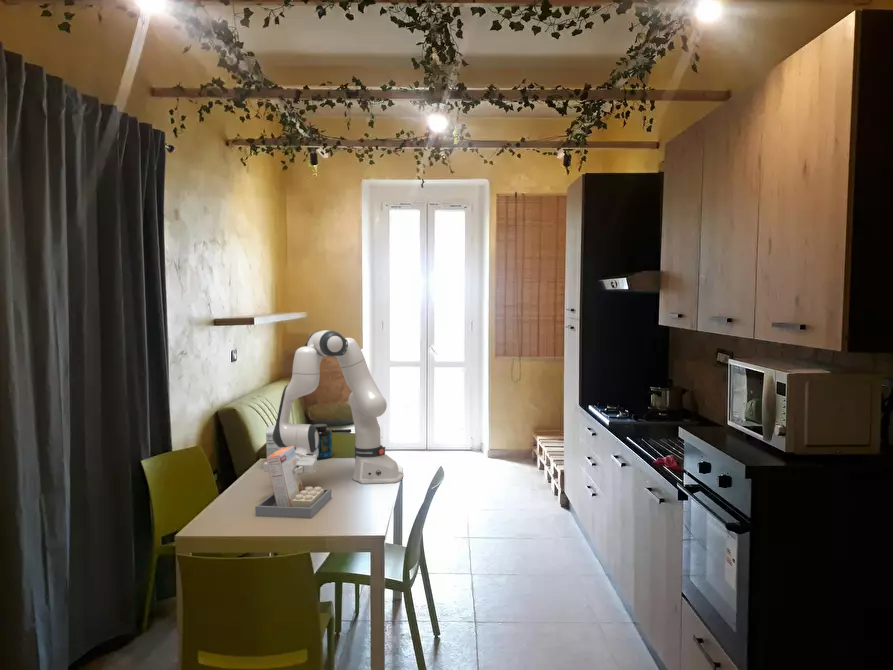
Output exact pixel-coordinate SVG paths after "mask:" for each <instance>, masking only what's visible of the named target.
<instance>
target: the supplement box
mask: <svg viewBox="0 0 893 670" xmlns="http://www.w3.org/2000/svg"><path fill="white" fill-rule="evenodd" d="M275 425H276V424H273V425H272V424H271V425H268V426H267V429H266V432H265V440H266V441H265V444H266V445H265V446H266V458H267V457H268V456H270V455H271V454H273V453H274V452H276V451H278V450H279V449H281V448H280V447H278V446H277V445H276V444H275V443H274V441H273V431H274V428H275ZM282 448H284V447H282ZM294 449H295V450H296V447H294Z"/></svg>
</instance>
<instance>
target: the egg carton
mask: <svg viewBox="0 0 893 670" xmlns="http://www.w3.org/2000/svg"><path fill="white" fill-rule="evenodd" d="M304 488H305V490H302V491H300V494H298V495H296V498H295V499H294V500H293V507H307V508H309V507H310V506H311V505H312V504H314V503H315V502H316V501H317V500H318V499H319V498H320V497H321V496H322V495H323V494H324V489H325V488H322V487H321V486H315V487H313V486H311V485H309V486H305V487H304Z"/></svg>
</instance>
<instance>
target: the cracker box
mask: <svg viewBox="0 0 893 670" xmlns="http://www.w3.org/2000/svg"><path fill="white" fill-rule="evenodd" d="M266 462H267V464H268V468H269V472H268V474H269V473H270V474H269V477H270V480H271V481H270V482H271V487H272V490H273V493H274V495H275V500H276V504H277V506H280V507H293V500H294V499H295V498H296V495H298V494H300V491H302V490H303V488H304V486H303V481H302V477H301V473H298V474H293V472H292V470H293V469H296V468H297V466H296V464H297V458H296V453H295V449H294V446H290V447H284V448H281V449H279V450H278V451H276V452H274V453H273V454H271V455H270V456H268V457H267V456H266Z"/></svg>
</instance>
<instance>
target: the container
mask: <svg viewBox="0 0 893 670" xmlns="http://www.w3.org/2000/svg"><path fill="white" fill-rule="evenodd" d="M313 425H314V426H315V427H316V429H317V430H318V432H319V446H318V451H319V453H318V457H317V459H319V460H325V459H326V460H327V459H329V458H331V457H332V456H333V436H332V435H333V432H332V430H331V429H330V428H328V424H326V423H315V424H313Z"/></svg>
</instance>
